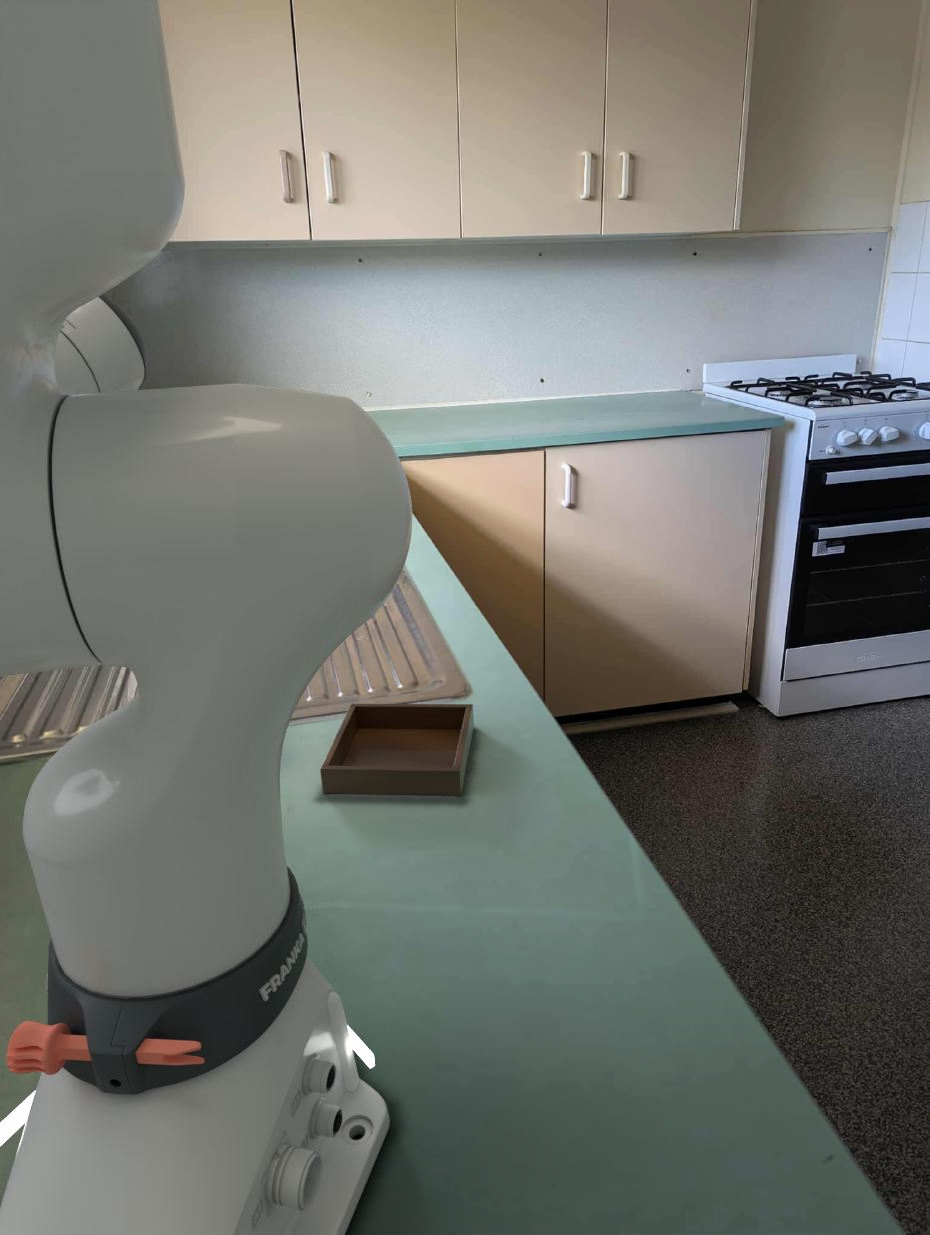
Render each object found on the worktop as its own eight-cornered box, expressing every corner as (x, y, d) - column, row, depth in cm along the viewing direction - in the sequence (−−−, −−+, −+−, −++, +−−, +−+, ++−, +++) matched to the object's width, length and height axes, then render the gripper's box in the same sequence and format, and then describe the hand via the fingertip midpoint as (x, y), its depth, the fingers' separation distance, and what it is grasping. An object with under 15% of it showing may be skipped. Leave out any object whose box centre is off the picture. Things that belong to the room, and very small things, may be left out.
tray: (461, 801, 76) (459, 770, 74) (323, 799, 77) (319, 768, 76) (474, 731, 87) (472, 704, 86) (353, 730, 88) (351, 703, 87)
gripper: (72, 494, 64) (216, 623, 65) (205, 439, 82) (315, 541, 84) (33, 551, 66) (172, 674, 68) (170, 486, 85) (277, 583, 86)
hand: (252, 600), depth 76 cm, fingers closed on spice jar, 5 cm apart
